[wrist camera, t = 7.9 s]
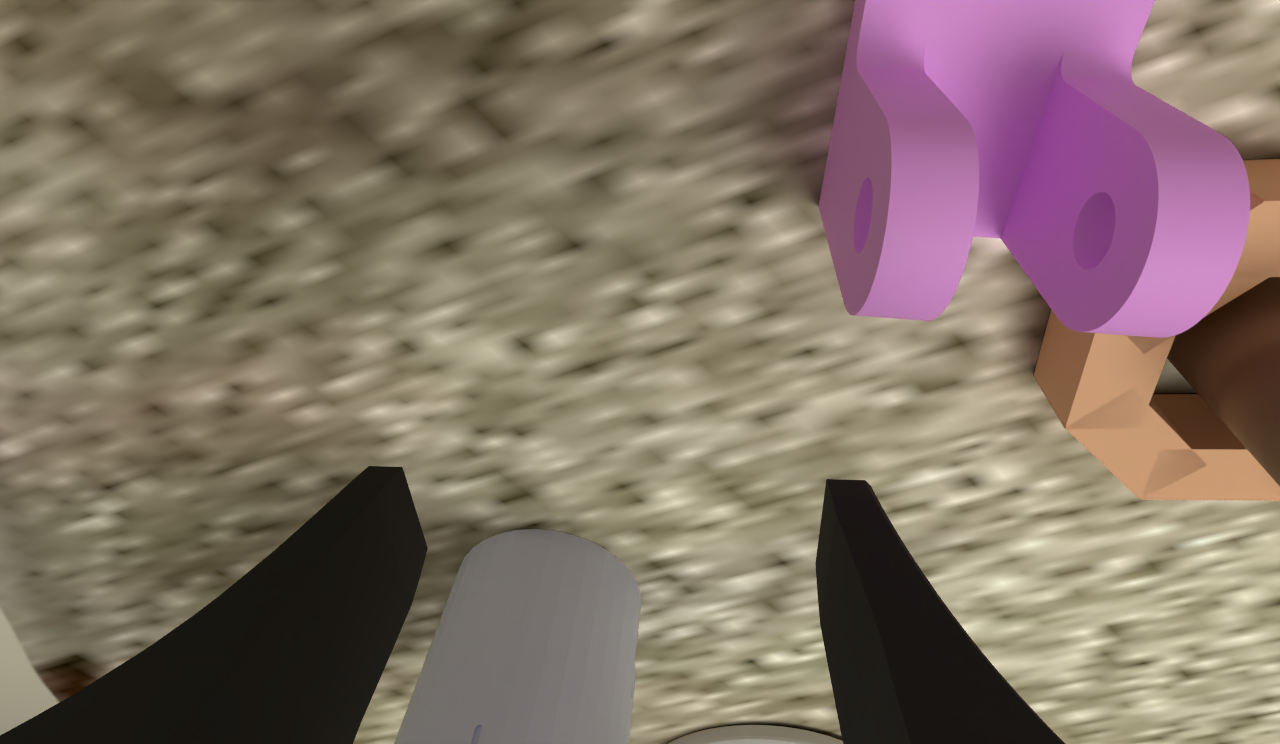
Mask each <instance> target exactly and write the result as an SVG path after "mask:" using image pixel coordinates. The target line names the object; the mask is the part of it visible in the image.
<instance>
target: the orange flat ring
mask: <svg viewBox="0 0 1280 744" xmlns="http://www.w3.org/2000/svg"><path fill="white" fill-rule="evenodd" d="M1243 162H1244V165H1245V168H1246V172H1247V176H1248V181H1249V189H1250V217H1249V224H1248V231H1247V235H1246V240H1245V244H1244V248H1243V251H1242V254H1241V257H1240V260H1239V263H1238V265H1237V268H1236V270H1235V272H1234V274H1233V277H1232V279H1231V281H1230V282H1229V284H1228V286H1227V288H1226V290H1225V291H1224V293H1223V294H1222V296H1221V297H1220V299H1219V300H1218V302H1217V303H1216V304H1215V305H1214V307H1213V308H1212V309H1211V310H1210V311H1209V312H1208V313H1207V315H1209V314H1210V313H1212V312H1214V311H1215V310H1217V309H1218V308H1220V307H1222V306H1223V305H1225V304H1227V303H1228V302H1230V301H1231V300H1233V299H1235V298H1236V297H1238V296H1240V295H1241V294H1243V293H1244V292H1246V291H1248V290H1249V289H1251V288H1253V287H1254V286H1256V285H1257V284H1259V283H1261V282H1262V281H1264V280H1266V279H1267V278H1269V277H1280V159H1264V160H1243ZM1207 315H1206V316H1207ZM1175 336H1176V335H1175ZM1175 336H1171V337H1164V338H1156V337H1142V336H1129V335H1115V334H1102V333H1088V332H1078V331H1074V330H1071V329H1069V328H1067V327H1066V326H1065V325H1063V324H1062V323H1061V322H1060V320H1059V319H1058V318H1057V317H1056V315H1055V314H1054V312H1053V311H1052V310H1051V313H1050V316H1049V320H1048V324H1047V327H1046V331H1045V335H1044V339H1043V342H1042V346H1041V350H1040V353H1039V357H1038V361H1037V364H1036V368H1035V372H1034V377H1035V379H1036V381H1037V382H1038V384H1039V386H1040V387H1041V389H1042V391H1043V393H1044V394H1045V396H1046V398H1047V399H1048V401H1049V403H1050V404H1051V406H1052V408H1053V409H1054V411H1055V413H1056V415H1057V416H1058V418H1059V420H1060V421H1061V423H1062V425H1063V426H1064V428H1065V429H1066V430H1068V431H1069V432H1070V433H1071V434H1072V435H1073V436H1074V437H1075V438H1076V439H1077V440H1078V441H1079V442H1080V443H1081V444H1082V445H1083V446H1084V447H1085V448H1086V449H1088V450H1089V451H1090V452H1091V453H1092V454H1093V455H1094V456H1095V457H1096V458H1097V459H1098V460H1099V461H1100V462H1101V463H1102V464H1103V465H1104V466H1105V467H1107V468H1108V469H1109V470H1110V471H1111V472H1112V473H1113V474H1114V475H1115V476H1116V477H1117V478H1118V479H1119V480H1120V481H1121V482H1122V483H1123V484H1124V485H1125V486H1127V487H1128V488H1129V489H1130V490H1131V491H1132V492H1133V493H1134V494H1135V495H1136V496H1137V497H1138V498H1139V499H1140V500H1141V499H1143V500H1264V501H1280V486H1279V485H1278V484H1277V483H1276V482H1275V481H1274V479H1273V478H1272V477H1271V476H1270V475H1269V474H1268V473H1267V472H1266V470H1265V469H1264V468H1263V467H1262V466H1261V465H1260V464H1259V462H1258V461H1257V460H1256V459H1255V458H1254V457H1253V456H1252V454H1251V453H1250V452H1249V451H1248V450H1247V449H1246V448H1245V446H1244V445H1243V444H1242V443H1241V442H1240V441H1239V440H1238V438H1237V437H1236V436H1235V435H1234V434H1233V433H1232V432H1231V430H1230V429H1229V428H1228V427H1227V426H1226V425H1225V424H1224V422H1223V421H1222V420H1221V419H1220V418H1219V417H1218V416H1217V415H1216V413H1215V412H1214V411H1213V410H1212V409H1211V408H1210V407H1209V405H1208V404H1207V403H1206V402H1205V401H1204V400H1203V399H1202V397H1201V396H1200V395H1199V394H1153V393H1154V390H1155V387H1156V385H1157V382H1158V380H1159V377H1160V375H1161V372H1162V369H1163V367H1164V364H1165V362H1166V359H1167V357H1168V354H1169V351H1170V349H1171V346H1172V344H1173V341H1174V338H1175Z"/></svg>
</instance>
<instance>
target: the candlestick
mask: <svg viewBox="0 0 1280 744" xmlns="http://www.w3.org/2000/svg"><path fill="white" fill-rule="evenodd" d="M668 744H843V741H842V740H839V739H836V738H833V737H830V736H827V735H823V734H820V733H816V732H812V731H807V730H802V729H796V728H790V727H783V726H770V725H736V726H726V727H718V728H712V729H706V730H702V731H699V732H695V733H692V734H688V735H686V736H683V737H680V738H678V739H675V740H673V741H671V742H669V743H668Z"/></svg>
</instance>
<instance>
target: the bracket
mask: <svg viewBox="0 0 1280 744" xmlns="http://www.w3.org/2000/svg"><path fill="white" fill-rule="evenodd" d="M1154 1H1155V0H855V5H854V11H853V16H852V22H851V27H850V33H849V39H848V44H847V50H846V55H845V61H844V66H843V72H842V78H841V83H840V89H839V94H838V100H837V106H836V111H835V117H834V122H833V128H832V133H831V139H830V145H829V150H828V156H827V161H826V167H825V173H824V178H823V184H822V189H821V195H820V201H819V210H820V214H821V218H822V222H823V225H824V229H825V233H826V237H827V241H828V244H829V248H830V252H831V256H832V259H833V263H834V267H835V271H836V275H837V278H838V282H839V286H840V290H841V293H842V297H843V301H844V304H845V307H846V310H847V311H848V313H849V314H851V315H857V316H871V317H884V318H898V319H911V320H925V321H930V320H933V319H935V318H937V317H938V316H939V315H940V314H941V313H942V312H943V311H944V310H945V308H946V307H947V306H948V304H949V302H950V301H951V299H952V297H953V295H954V293H955V291H956V289H957V287H958V284H959V282H960V279H961V277H962V274H963V271H964V268H965V265H966V262H967V258H968V254H969V250H970V246H971V242H972V237H973V236H975V237H990V238H1001V240H1002V241H1003V242H1004V244H1005V245H1006V247H1007V248H1008V249H1009V251H1010V252H1011V254H1012V255H1013V256H1014V258H1015V259H1016V261H1017V262H1018V263H1019V265H1020V266H1021V268H1022V269H1023V270H1024V272H1025V273H1026V275H1027V276H1028V277H1029V279H1030V280H1031V282H1032V283H1033V284H1034V286H1035V287H1036V289H1037V290H1038V291H1039V293H1040V294H1041V296H1042V297H1043V298H1044V300H1045V301H1046V303H1047V304H1048V305H1049V307H1050V308H1051V310H1052V311H1053V312H1054V314H1055V315H1056V317H1057V318H1058V319H1059V320H1060V322H1061V323H1062V324H1063V325H1065V326H1066V327H1067V328H1069V329H1071V330H1074V331H1078V332H1088V333H1102V334H1115V335H1129V336H1142V337H1156V338H1164V337H1171V336H1175V335H1177V334H1180V333H1182V332H1184V331H1186V330H1188V329H1190V328H1191V327H1192V326H1194V325H1195V324H1197V323H1198V322H1199V321H1200V320H1201V319H1202V318H1204V317H1205V316H1206V315H1207V313H1208V312H1209V311H1210V310H1211V309H1212V308H1213V307H1214V305H1215V304H1216V303H1217V302H1218V300H1219V299H1220V297H1221V296H1222V294H1223V293H1224V291H1225V290H1226V288H1227V286H1228V284H1229V282H1230V281H1231V279H1232V277H1233V274H1234V272H1235V270H1236V268H1237V265H1238V263H1239V260H1240V257H1241V254H1242V251H1243V248H1244V244H1245V240H1246V235H1247V231H1248V224H1249V217H1250V189H1249V181H1248V176H1247V172H1246V168H1245V165H1244V162H1243V160H1242V158H1241V156H1240V154H1239V152H1238V150H1237V149H1236V147H1235V146H1234V145H1233V143H1232V142H1231V141H1230V140H1229V139H1228V138H1226V137H1225V136H1223V135H1222V134H1220V133H1218V132H1217V131H1215V130H1213V129H1211V128H1210V127H1208V126H1206V125H1204V124H1203V123H1201V122H1199V121H1197V120H1196V119H1194V118H1192V117H1190V116H1189V115H1187V114H1185V113H1183V112H1182V111H1180V110H1178V109H1176V108H1174V107H1173V106H1171V105H1169V104H1167V103H1166V102H1164V101H1162V100H1160V99H1159V98H1157V97H1155V96H1153V95H1152V94H1150V93H1148V92H1146V91H1145V90H1143V89H1141V88H1139V87H1137V86H1136V85H1135V84H1134V83H1133V81H1132V78H1131V64H1132V59H1133V56H1134V53H1135V50H1136V47H1137V45H1138V42H1139V40H1140V37H1141V34H1142V32H1143V29H1144V27H1145V24H1146V22H1147V19H1148V16H1149V14H1150V11H1151V9H1152V6H1153V4H1154Z"/></svg>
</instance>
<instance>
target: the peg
mask: <svg viewBox="0 0 1280 744" xmlns="http://www.w3.org/2000/svg"><path fill="white" fill-rule="evenodd" d="M1167 359H1168V360H1169V361H1170V362H1171V363H1172V364H1173V365H1174V367H1175V368H1176V369H1177V370H1178V371H1179V372H1180V373H1181V375H1182V376H1183V377H1184V378H1185V379H1186V380H1187V381H1188V383H1189V384H1190V385H1191V386H1192V387H1193V388H1194V389H1195V391H1196V392H1197V393H1198V394H1199V395H1200V396H1201V397H1202V399H1203V400H1204V401H1205V402H1206V403H1207V404H1208V405H1209V407H1210V408H1211V409H1212V410H1213V411H1214V412H1215V413H1216V415H1217V416H1218V417H1219V418H1220V419H1221V420H1222V421H1223V422H1224V424H1225V425H1226V426H1227V427H1228V428H1229V429H1230V430H1231V432H1232V433H1233V434H1234V435H1235V436H1236V437H1237V438H1238V440H1239V441H1240V442H1241V443H1242V444H1243V445H1244V446H1245V448H1246V449H1247V450H1248V451H1249V452H1250V453H1251V454H1252V456H1253V457H1254V458H1255V459H1256V460H1257V461H1258V462H1259V464H1260V465H1261V466H1262V467H1263V468H1264V469H1265V470H1266V472H1267V473H1268V474H1269V475H1270V476H1271V477H1272V478H1273V479H1274V481H1275V482H1276V483H1277V484H1278V485H1279V486H1280V277H1269V278H1267V279H1266V280H1264V281H1262V282H1261V283H1259V284H1257V285H1256V286H1254V287H1253V288H1251V289H1249V290H1248V291H1246V292H1244V293H1243V294H1241V295H1240V296H1238V297H1236V298H1235V299H1233V300H1231V301H1230V302H1228V303H1227V304H1225V305H1223V306H1222V307H1220V308H1218V309H1217V310H1215V311H1214V312H1212V313H1210V314H1209V315H1207V316H1205V317H1204V318H1202V319H1201V320H1200V321H1199V322H1198V323H1197V324H1195V325H1194V326H1192V327H1191V328H1190V329H1188V330H1186V331H1184V332H1182V333H1180V334H1177V335H1176V336H1175V338H1174V341H1173V344H1172V346H1171V349H1170V351H1169V354H1168V357H1167Z"/></svg>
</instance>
